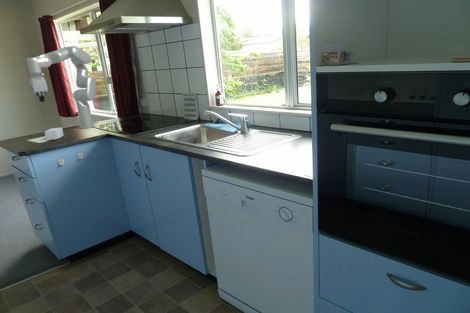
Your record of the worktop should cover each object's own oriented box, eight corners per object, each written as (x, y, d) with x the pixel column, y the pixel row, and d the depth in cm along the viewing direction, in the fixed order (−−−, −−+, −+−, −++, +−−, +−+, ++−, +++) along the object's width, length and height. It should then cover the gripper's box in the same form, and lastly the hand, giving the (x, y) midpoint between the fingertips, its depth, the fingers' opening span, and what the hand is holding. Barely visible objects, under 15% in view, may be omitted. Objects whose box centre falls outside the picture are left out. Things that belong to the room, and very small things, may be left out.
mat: (49, 136, 258) (49, 135, 258) (60, 137, 247) (60, 137, 247) (27, 141, 246) (26, 140, 246) (38, 143, 235) (37, 142, 235)
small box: (52, 136, 252) (46, 140, 240) (50, 128, 250) (44, 131, 238) (63, 135, 253) (58, 139, 241) (62, 127, 251) (56, 130, 239)
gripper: (44, 74, 246) (50, 100, 251) (22, 76, 235) (29, 103, 240) (49, 74, 242) (55, 100, 247) (27, 76, 230) (34, 103, 235)
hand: (42, 101), depth 243 cm, fingers closed
